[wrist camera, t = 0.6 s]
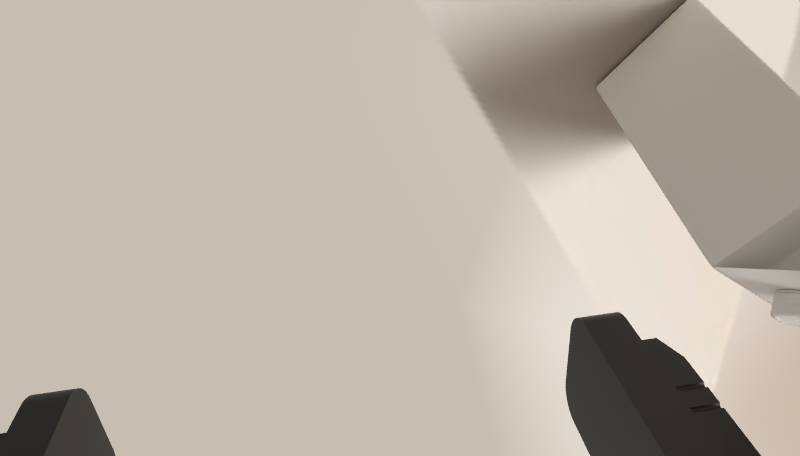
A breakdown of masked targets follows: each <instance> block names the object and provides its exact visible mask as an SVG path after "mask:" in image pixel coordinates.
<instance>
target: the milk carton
mask: <svg viewBox="0 0 800 456" xmlns="http://www.w3.org/2000/svg"><path fill="white" fill-rule="evenodd" d="M596 89H597V91H598V92H599V94H600V95H601V97H602V99H603V100H604V102H605V103H606V105H607V106H608V108H609V109H610V111H611V112H612V114H613V116H614V117H615V119H616V120H617V122H618V123H619V125H620V126H621V128H622V129H623V131H624V133H625V134H626V136H627V137H628V139H629V140H630V142H631V143H632V145H633V146H634V148H635V150H636V151H637V153H638V154H639V156H640V157H641V159H642V160H643V162H644V164H645V165H646V167H647V168H648V170H649V171H650V173H651V174H652V176H653V177H654V179H655V181H656V182H657V184H658V185H659V187H660V188H661V190H662V191H663V193H664V194H665V196H666V198H667V199H668V201H669V202H670V204H671V205H672V207H673V208H674V210H675V211H676V213H677V215H678V216H679V218H680V219H681V221H682V222H683V224H684V225H685V227H686V228H687V230H688V232H689V233H690V235H691V236H692V238H693V239H694V241H695V242H696V244H697V245H698V247H699V249H700V250H701V252H702V253H703V255H704V256H705V258H706V259H707V261H708V262H709V263H710V265H711V266H712V267H713V268H714V269H716V270H717V271H719V272H720V273H722V274H723V275H725V276H726V277H728V278H730V279H731V280H733V281H734V282H736V283H738V284H739V285H741V286H743V287H744V288H746V289H747V290H749V291H751V292H752V293H754V294H755V295H757V296H759V297H760V298H762V299H763V300H765V301H767V302H768V303H770V304H771V305H772V309H771V316H772V317H773V318H774V319H776V320H778V321H780V322H782V323H785V324H789V325H793V326H799V327H800V95H799V94H798V93H797V92H796V91H795V90H794V89H793V88H792V87H791V86H789V84H787V83H786V82H785V81H784V80H783V79H782V78H781V77H780V76H779V75H778V74H777V73H776V72H775V71H774V70H773V69H772V68H770V67H769V66H768V65H767V64H766V63H765V62H764V61H763V60H762V59H761V58H760V57H759V56H758V55H757V54H756V53H755V52H754V51H752V50H751V49H750V48H749V47H748V46H747V45H746V44H745V43H744V42H743V41H742V40H741V39H740V38H739V37H738V36H737V35H735V34H734V33H733V32H732V31H731V30H730V29H729V28H728V27H727V26H726V25H725V24H724V23H723V22H722V21H721V20H720V19H719V18H717V17H716V16H715V15H714V14H713V13H712V12H711V11H710V10H709V9H708V8H707V7H706V6H705V5H704V4H703V3H702V2H700V1H699V0H686V1H685V2H684V3H683V4H682V5H681V6H680V7H679V8H678V9H677V10H676V11H675V12H674V13H673V14H672V15H671V16H670V17H669V18H668V19H666V20H665V21H664V22H663V23H662V24H661V25H660V26H659V27H658V28H657V29H656V30H655V31H654V32H653V33H652V34H651V35H650V36H649V37H648V38H647V39H646V40H644V41H643V42H642V43H641V44H640V45H639V46H638V47H637V48H636V49H635V50H634V51H633V52H632V53H631V54H630V55H629V56H628V57H627V58H626V59H625V60H624V61H623V62H621V63H620V64H619V65H618V66H617V67H616V68H615V69H614V70H613V71H612V72H611V73H610V74H609V75H608V76H607V77H606V78H605V79H604V80H603V81H602V82H601V83H600V84H599V85H598V86H597V87H596Z"/></svg>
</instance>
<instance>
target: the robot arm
mask: <svg viewBox="0 0 800 456" xmlns="http://www.w3.org/2000/svg"><path fill="white" fill-rule="evenodd" d="M566 395H567V401H568V406H569V410H570V413H571V416H572V418H573V421H574V423H575V425H576V427H577V429H578V431H579V433H580V435H581V437H582V439H583V441H584V443H585V446H586V448H587V450H588V452H589V454H590V456H761V455H760V454H759V453H758V451H757V450H756V449H755V447H754V446H753V445H752V444H751V442H750V441H749V440H748V438H747V437H746V436H745V435H744V433H743V432H742V431H741V429H740V428H739V427H738V426H737V424H736V423H735V422H734V420H733V419H732V418H731V417H730V415H729V414H728V413H727V411H726V410H725V409H724V408H721V407H720V402H719V401H718V400H717V399H716V397H715V396H714V395H713V393H712V392H711V391H710V389H709V388H708V387H705V386H704V382H703V380H702V379H701V378H700V377H699V375H698V374H697V373H696V371H695V370H694V369H693V368H692V366H691V365H690V364H689V362H688V361H687V360H686V359H685V357H683V356H682V355H680V354H679V353H677V352H676V351H674V350H673V349H672V348H670V347H669V346H667V345H666V344H664V343H663V342H661V341H660V340H658V339H657V338H654V339H647V340H641V339H640V337H639V336H638V334H637V333H636V332H635V330H634V329H633V327H632V326H631V325H630V323H629V322H628V320H627V319H626V318H625V317H624V316H623V315H622V314H621V313H618V312H615V313H609V314H602V315H595V316H588V317H581V318H576V319H574V320H573V322H572V325H571V333H570V344H569V354H568V365H567V376H566ZM0 456H115V453H114V450H113V448H112V446H111V444H110V441H109V439H108V437H107V435H106V432H105V430H104V428H103V426H102V424H101V421H100V419H99V417H98V415H97V413H96V411H95V408H94V406H93V404H92V402H91V399H90V397H89V395H88V394H87V392H86V391H85V390H83V389H81V388H80V389H79V388H78V389H71V390H64V391H57V392H51V393H43V394H36V395H31V396H29V397H27V398H26V399H25V400H24V401H23V403H22V404H21V406H20V408H19V410H18V412H17V414H16V416H15V418H14V419H13V421H12V423H11V425H10V427H9V429H8V431H7V433H3V434H0Z"/></svg>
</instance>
